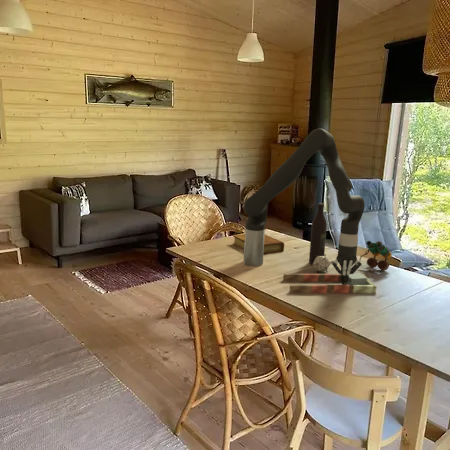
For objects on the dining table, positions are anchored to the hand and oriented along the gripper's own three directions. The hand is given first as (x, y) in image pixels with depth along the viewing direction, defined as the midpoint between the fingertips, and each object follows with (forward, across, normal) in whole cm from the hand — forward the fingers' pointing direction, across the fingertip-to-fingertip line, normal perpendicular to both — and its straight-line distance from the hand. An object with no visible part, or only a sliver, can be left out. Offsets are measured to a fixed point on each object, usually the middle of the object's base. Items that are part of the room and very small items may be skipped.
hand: (344, 283), depth 188 cm
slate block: (+2, +5, +2) cm, 6 cm away
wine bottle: (+2, -4, +31) cm, 32 cm away
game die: (+2, -5, +19) cm, 20 cm away
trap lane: (+2, -7, 0) cm, 7 cm away
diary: (+2, -29, +59) cm, 66 cm away
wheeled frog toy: (+2, +23, +23) cm, 33 cm away
